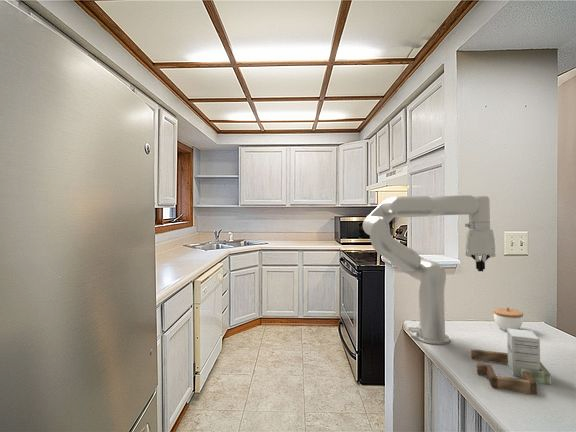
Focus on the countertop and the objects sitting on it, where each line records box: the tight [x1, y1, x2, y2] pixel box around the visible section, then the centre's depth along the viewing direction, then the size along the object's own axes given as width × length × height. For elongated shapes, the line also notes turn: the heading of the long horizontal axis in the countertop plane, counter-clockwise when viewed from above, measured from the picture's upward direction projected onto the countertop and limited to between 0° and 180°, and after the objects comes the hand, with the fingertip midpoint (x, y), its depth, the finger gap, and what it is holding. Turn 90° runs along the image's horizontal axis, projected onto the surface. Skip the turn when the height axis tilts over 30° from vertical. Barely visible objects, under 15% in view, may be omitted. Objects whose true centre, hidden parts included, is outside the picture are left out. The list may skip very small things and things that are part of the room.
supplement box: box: [506, 329, 541, 377], centre depth 105 cm, size 7×7×13 cm
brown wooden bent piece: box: [486, 366, 538, 395], centre depth 98 cm, size 11×8×3 cm
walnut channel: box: [470, 348, 552, 385], centre depth 107 cm, size 19×13×3 cm
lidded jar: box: [493, 307, 524, 332], centre depth 142 cm, size 11×11×9 cm
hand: (480, 270), depth 135 cm, fingers closed
